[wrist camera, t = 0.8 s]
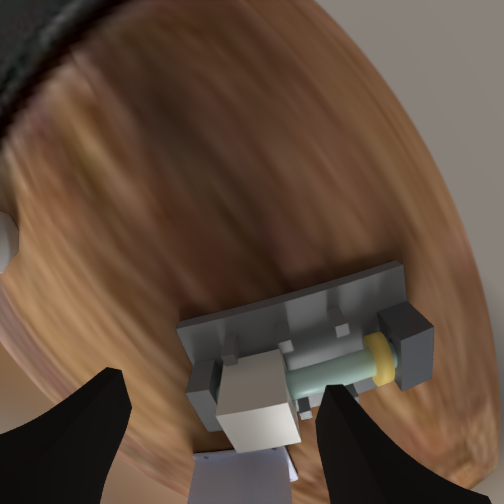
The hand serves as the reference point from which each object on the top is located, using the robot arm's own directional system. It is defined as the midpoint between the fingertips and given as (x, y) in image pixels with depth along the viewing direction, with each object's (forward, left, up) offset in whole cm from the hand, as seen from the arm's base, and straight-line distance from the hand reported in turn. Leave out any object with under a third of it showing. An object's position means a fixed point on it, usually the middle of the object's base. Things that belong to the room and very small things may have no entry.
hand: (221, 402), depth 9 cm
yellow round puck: (+8, -6, -9) cm, 13 cm away
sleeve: (0, -6, -9) cm, 11 cm away
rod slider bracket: (+3, -6, -11) cm, 13 cm away
